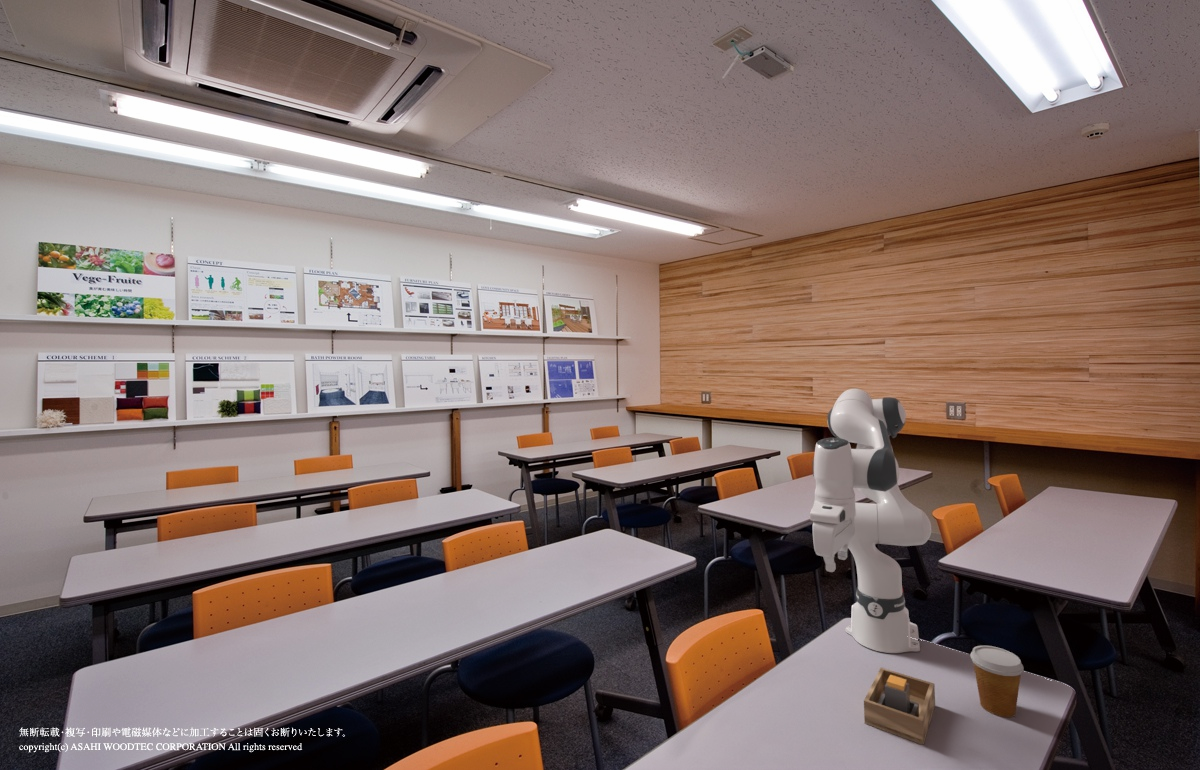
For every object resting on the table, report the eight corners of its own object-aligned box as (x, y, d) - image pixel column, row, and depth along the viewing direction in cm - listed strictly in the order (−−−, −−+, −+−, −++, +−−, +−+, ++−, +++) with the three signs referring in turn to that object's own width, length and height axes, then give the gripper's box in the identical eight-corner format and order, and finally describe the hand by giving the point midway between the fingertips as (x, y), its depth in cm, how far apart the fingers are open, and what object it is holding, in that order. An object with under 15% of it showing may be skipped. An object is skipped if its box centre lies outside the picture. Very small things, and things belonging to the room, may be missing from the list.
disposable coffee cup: (1009, 697, 119) (1008, 645, 119) (1035, 724, 110) (1033, 669, 110) (963, 693, 121) (962, 643, 121) (984, 720, 112) (983, 665, 112)
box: (881, 687, 125) (880, 667, 124) (935, 705, 117) (934, 683, 117) (864, 723, 112) (863, 700, 112) (923, 745, 105) (922, 720, 105)
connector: (889, 708, 115) (888, 673, 115) (910, 715, 113) (908, 679, 113) (885, 717, 112) (884, 681, 112) (906, 725, 110) (905, 688, 110)
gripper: (834, 496, 132) (836, 550, 133) (806, 514, 117) (809, 575, 117) (860, 499, 128) (862, 554, 128) (836, 518, 113) (838, 581, 113)
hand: (836, 564), depth 123 cm, fingers open, 8 cm apart
